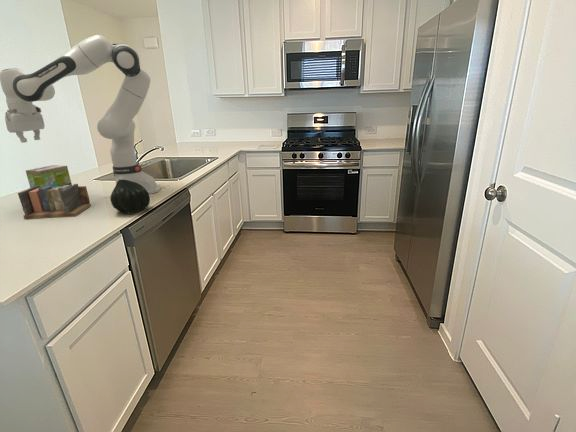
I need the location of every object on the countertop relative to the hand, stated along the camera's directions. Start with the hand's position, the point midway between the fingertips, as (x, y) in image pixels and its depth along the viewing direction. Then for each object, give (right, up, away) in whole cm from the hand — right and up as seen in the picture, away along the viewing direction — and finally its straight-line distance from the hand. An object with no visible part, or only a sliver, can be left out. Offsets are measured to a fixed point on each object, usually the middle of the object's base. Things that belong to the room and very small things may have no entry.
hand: (31, 141), depth 143 cm
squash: (+49, -32, -5) cm, 59 cm away
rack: (+17, -33, -5) cm, 37 cm away
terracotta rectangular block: (+10, -32, -6) cm, 34 cm away
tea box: (-5, -24, +21) cm, 32 cm away
